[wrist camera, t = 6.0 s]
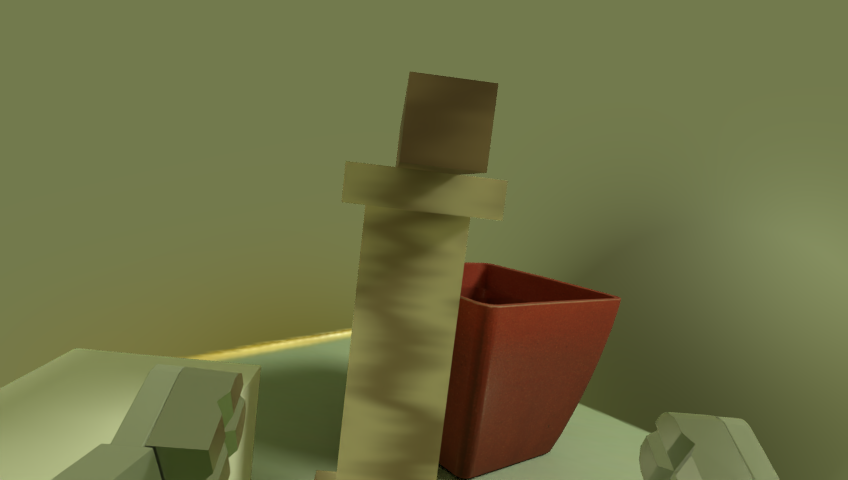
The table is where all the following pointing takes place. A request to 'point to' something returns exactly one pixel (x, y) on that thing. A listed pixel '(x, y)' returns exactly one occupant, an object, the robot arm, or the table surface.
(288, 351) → the table surface
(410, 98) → the walnut bar
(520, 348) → the plant pot
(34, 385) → the white rectangular block
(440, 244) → the wooden i-beam pillar
